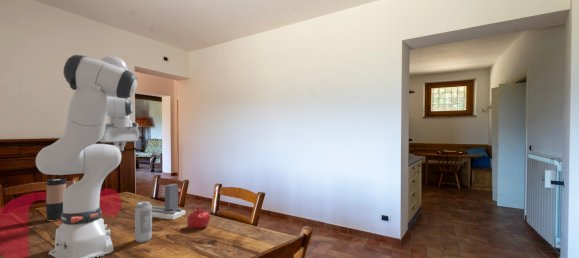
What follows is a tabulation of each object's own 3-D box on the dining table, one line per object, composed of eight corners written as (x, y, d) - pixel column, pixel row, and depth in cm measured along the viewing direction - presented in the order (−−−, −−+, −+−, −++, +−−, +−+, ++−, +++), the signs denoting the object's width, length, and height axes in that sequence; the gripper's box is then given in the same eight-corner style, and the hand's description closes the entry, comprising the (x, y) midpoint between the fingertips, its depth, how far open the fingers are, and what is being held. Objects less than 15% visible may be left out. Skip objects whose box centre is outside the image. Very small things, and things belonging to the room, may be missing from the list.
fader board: (185, 214, 143) (185, 208, 143) (173, 219, 135) (173, 213, 135) (153, 210, 150) (153, 204, 150) (140, 215, 141) (140, 209, 141)
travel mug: (57, 221, 131) (57, 180, 131) (41, 221, 131) (41, 180, 131) (70, 216, 139) (70, 177, 139) (55, 216, 139) (55, 177, 139)
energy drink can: (147, 236, 114) (148, 200, 114) (154, 239, 110) (154, 202, 110) (132, 240, 109) (132, 203, 109) (138, 244, 105) (138, 205, 105)
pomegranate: (203, 231, 119) (203, 210, 119) (182, 229, 121) (182, 209, 121) (213, 223, 129) (214, 204, 129) (194, 222, 131) (194, 202, 131)
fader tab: (179, 210, 143) (179, 184, 143) (171, 213, 137) (171, 186, 137) (171, 209, 144) (171, 183, 144) (163, 212, 138) (163, 185, 139)
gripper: (105, 123, 129) (105, 152, 129) (140, 124, 148) (140, 149, 148) (95, 123, 131) (95, 152, 131) (132, 124, 150) (131, 149, 150)
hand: (119, 150), depth 139 cm, fingers closed
